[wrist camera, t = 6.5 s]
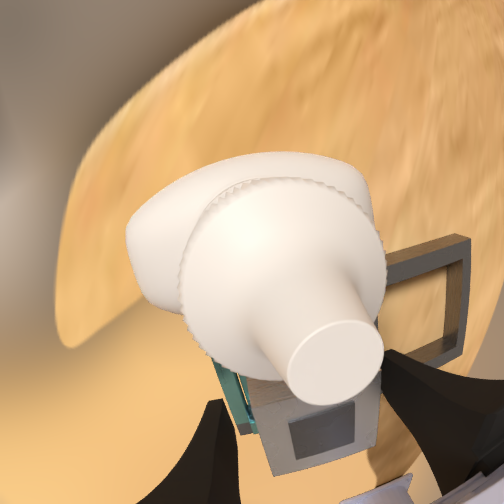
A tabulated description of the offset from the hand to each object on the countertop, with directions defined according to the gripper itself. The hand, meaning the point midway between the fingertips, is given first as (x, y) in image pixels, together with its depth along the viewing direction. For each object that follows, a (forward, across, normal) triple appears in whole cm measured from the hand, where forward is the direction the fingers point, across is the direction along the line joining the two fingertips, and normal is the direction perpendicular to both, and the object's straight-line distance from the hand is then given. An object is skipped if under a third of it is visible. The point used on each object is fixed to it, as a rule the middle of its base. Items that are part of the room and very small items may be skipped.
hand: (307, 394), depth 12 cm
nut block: (+3, 0, 0) cm, 3 cm away
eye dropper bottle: (+4, +1, -8) cm, 9 cm away
